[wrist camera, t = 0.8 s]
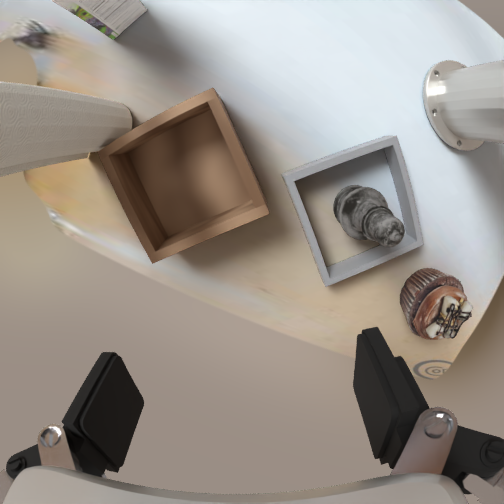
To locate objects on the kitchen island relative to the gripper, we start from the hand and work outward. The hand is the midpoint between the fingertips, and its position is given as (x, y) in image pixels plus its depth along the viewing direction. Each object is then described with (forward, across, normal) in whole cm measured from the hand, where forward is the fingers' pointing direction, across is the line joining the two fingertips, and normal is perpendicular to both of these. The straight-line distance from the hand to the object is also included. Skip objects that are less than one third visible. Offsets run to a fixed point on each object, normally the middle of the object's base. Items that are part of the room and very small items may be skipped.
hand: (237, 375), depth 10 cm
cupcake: (+26, -23, +15) cm, 37 cm away
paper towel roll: (+25, +15, -14) cm, 32 cm away
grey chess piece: (+25, -12, +1) cm, 28 cm away
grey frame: (+25, -12, +1) cm, 28 cm away
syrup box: (+25, +12, -29) cm, 40 cm away
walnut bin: (+25, +6, -6) cm, 26 cm away
